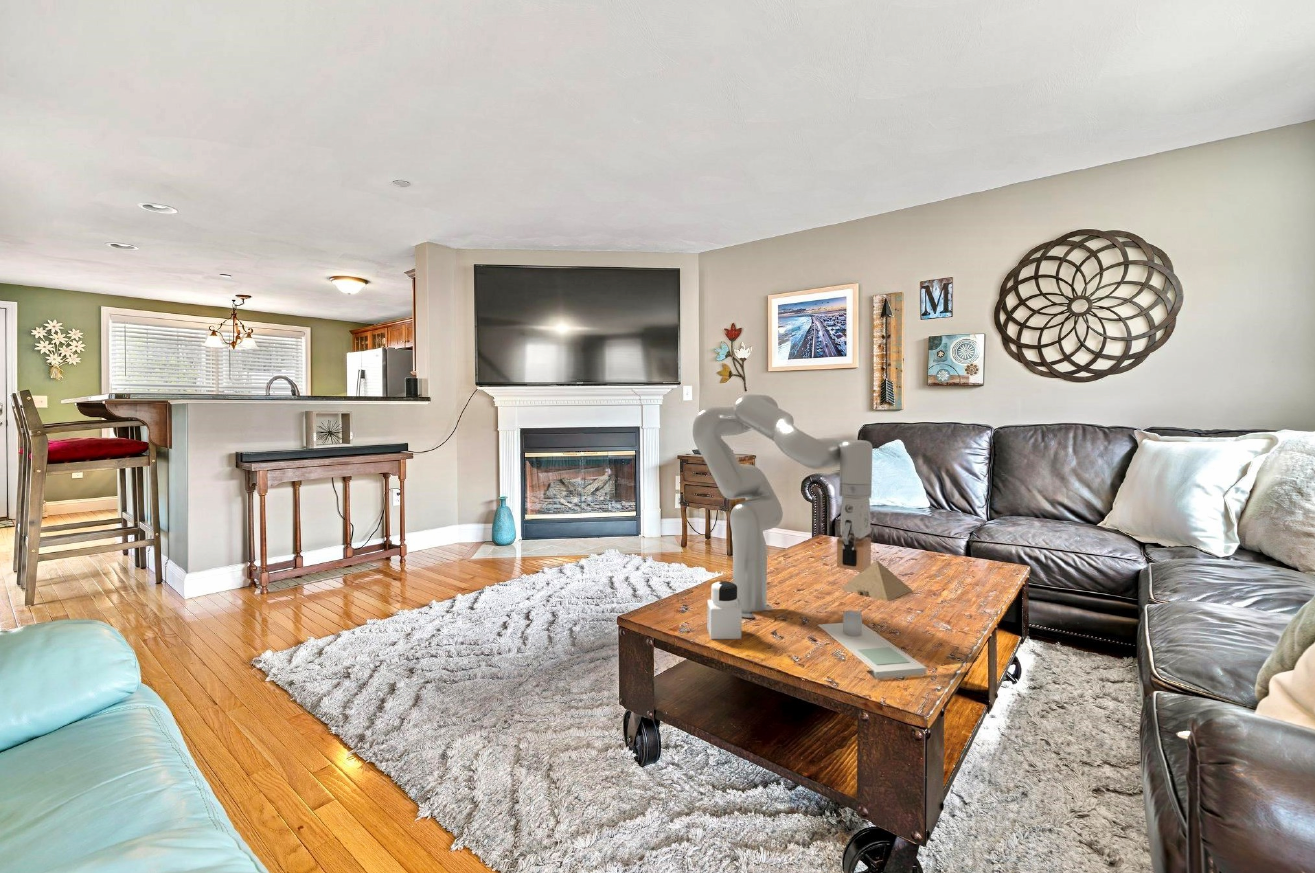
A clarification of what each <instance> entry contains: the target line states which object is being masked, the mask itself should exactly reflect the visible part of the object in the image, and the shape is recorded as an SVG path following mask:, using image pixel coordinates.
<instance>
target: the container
mask: <svg viewBox="0 0 1315 873" xmlns="http://www.w3.org/2000/svg"><path fill="white" fill-rule="evenodd" d="M710 594H711V596H710V597H711V599H707V604H706V605H707V610H706V612H707V613H706V617H707V619H706V620H707V621H706V622H707V623H706V627H707V631H708V634H709V638H710V639H711V640H741V639H742V620H743V617H742V609H741V607H740V605H739V603H738V601H737V586H736V585H735V584H734V583H733V581H732V582H731V581H727V580H725V581H724V580H719V581H717V582H716V581H715V582H714V583H712V584H711V592H710Z"/></svg>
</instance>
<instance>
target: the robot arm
mask: <svg viewBox="0 0 1315 873" xmlns="http://www.w3.org/2000/svg"><path fill="white" fill-rule="evenodd" d="M794 419H795V418H794V417H793V415H792V414H791V413H789V412H787V411H785V410H783V409H781V408H779V405H778V403H777V401H776V400H775V399H774V398H773V397H771V396H769V395H766V394H751V393H750V394H744V395H742V396H740V397H739V398H738V399H737V400H736V401H735V403H734V405H733V406H731V407H730V406H729V407H728V406H727V407H726V406H725V407H724V406H723V407H722V406H718V407H717V406H715V407H714V406H713V407H708V408H705V409H702V410H701V411H700V412H699V413H698V414H697V415H696V416H695V418H694V421H693V424H692V438H693V441H694V443H695V446H696V448H697V450H698V451H699V453H700V455H701V457H702V458H703V459H704V462H705V463H706V465H707V468H708V469H709V473H710V474H711V476H712V478H713V480H714V481H715V483H716V485H717V488H718V489H719V491H720V494H722V496H723V497H724V498H725V499H727V500H740V499H744V500H742V501H740V502H738V503H737V504H735V506H734V505H733V508H732V509H731V512H730V516H729V524H730V530H731V534H732V536H731V537H732V583H734V584H735V585H736V586H737V601H738V603H739V605H740V607H741V609H742V618H745V619H747V618H748V619H756V616H755V615H754V614H752V613H753V612H755V613H756V612H762V611H771V610H773V607H772V605H770V604H769V603H767V595H768V594H767V593H768V592H767V591H768V588H767V587H768V547H767V542H766V539H765V538H766V537H765V534H764V532H765V531H768V530H772V529H774V528H777V527H778V526H779V525H780V524H781V522H782V520H783V518H784V517H783V516H784V515H783V514H784V512H783V507H782V505H781V501H780V500H779V498H778V496H777V495H776V492H774V489H773V487H772V486H771V483H770V481H769V480H768V478H767V476H766V475H765V473H764V472H763V471H762V470H761V469H760V468H758V467H757V466H755V465H753V464H741V463H740V462H739V460H738V459H737V456H736V455H735V453H734V451H733V449H732V447H731V446H729V445H728V443H726V442H725V441H724V439H723V438H722V437H723V436H724V437H725V436H728V437H729V436H736V435H737V436H738V435H742V434H744V433H747V432H750V431H752V430H754V431H755V432H757V433H759V434H760V435H763V437H766V438H767V439H769V440H771V441H773V442H774V444H775V445H776V446H777V448H778V449H779V450H780V451H781V453H783V454H784V455H786V456H787V457H788V458H790V459H792V460H794V461H795V462H797V463H799V464H801V465H803V466H804V467H806V468H808V469H813V470H822V469H829V468H830V469H831V468H837V467H839V486H838V487H839V488H838V489H839V493H838V495H839V497H842V499H841V509H840V523H839V524H840V535H841V537H842V539H843V565H847V566H854V567H855V566H856V559H857V550H855V547H856V540H857V537H858V539H861V538H863V537H866V536H868V535H869V534H870V533H871V529H872V528H871V504H870V503H871V502H870V501H871V500H870V499H871V498H872V484H873V483H872V481H873V444H872V443H871V442H870V441H868V440H860V439H847V440H846V439H841V438H836V437H830V438H829V437H824V438H823V437H822V438H815V437H813V436H811V435H809V434H807V433H806V432H804V431H802V430H800V429H799V428H798V427H796V426H795V425H794V421H795V420H794ZM849 535H852V536H854V537H852V536H849ZM851 540H853V543H852V542H851ZM751 612H752V613H751Z"/></svg>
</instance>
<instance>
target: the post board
mask: <svg viewBox="0 0 1315 873" xmlns="http://www.w3.org/2000/svg"><path fill="white" fill-rule="evenodd" d="M842 616H843V617H842V618H843V619H842V620H843V621H842V622H839V623H837V622H836V623H823V624H821V623H820V624H817V626H818V628H819V627H820V628H821V629H822V630H823V631H824V632H826V633H827V634H828V635H829V636H831V637H832V638H833V639H834V640H835V641H837V643H839V644H840V645H842V647H844V648H845V649H846V650H848V651H849V652H850V653H851V654H852V655H854V656H855V658H858V659H859V660H860V661H861V662H863V663H864V664H865V665H866V666H867V667H868V668H870V669H871V670H866V672H867V674H869V675H870V676H871V677H872V678H874V679H875V680H877V679H878V680H879V679H891V678H890V677H892V678H902V677H904V678H905V677H911V676H910V675H916V676H926V675H927V669H928V668H927V667H926V666H925V665H924V664H922V663H920V662H919V661H917V660H916V659H914V658H913V657H912V656H910V655H909V654H907V653H906V652H904V651H903V650H902V649H900V648H899V647H897V645H896V646H895V645H894V644H893V643H891V642H890V641H888V640H887V639H886V638H884V637H882V636H881V635H880V634H878V632H875V631H874V630H873V629H871V628H870V627H868V626H867V625H865V623H863V614H862V612H860V611H857V610H851V609H850V610H844V611H843V614H842ZM925 674H926V675H925Z"/></svg>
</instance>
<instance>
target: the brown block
mask: <svg viewBox="0 0 1315 873" xmlns="http://www.w3.org/2000/svg"><path fill="white" fill-rule="evenodd" d="M849 536H852V535H849ZM852 537H854V536H852ZM836 541H837V542H836V568H838V569H844V570H850V571H859V572H862V571H864V570H866V569H867V568H868V567H870V566H871V564H872V561H871V560H872V559H871V558H872V557H871V556H872V554H871V553H872V537H869V536H867V537H866V536H865V537H863V538H861V539H858V537H857V540H856V547H855V550H857V559H856V566H855V567H854V566H847V565H843V539H842V536H840V537H838V538H837V539H836ZM851 542H852V543H853V540H851Z"/></svg>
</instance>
